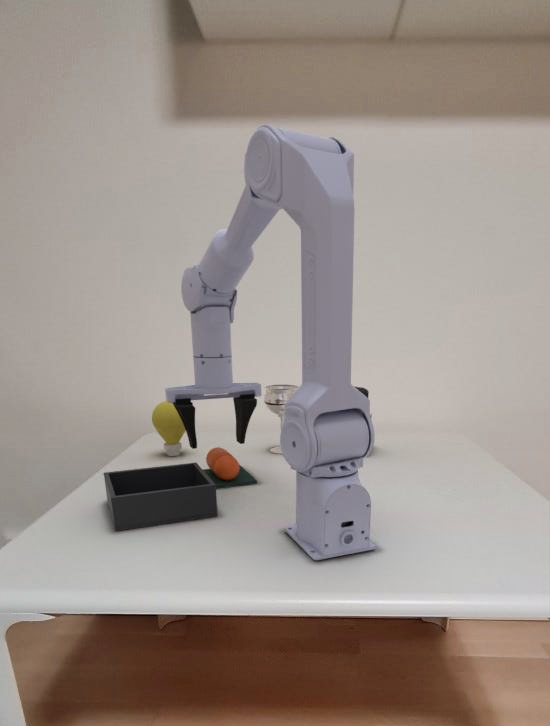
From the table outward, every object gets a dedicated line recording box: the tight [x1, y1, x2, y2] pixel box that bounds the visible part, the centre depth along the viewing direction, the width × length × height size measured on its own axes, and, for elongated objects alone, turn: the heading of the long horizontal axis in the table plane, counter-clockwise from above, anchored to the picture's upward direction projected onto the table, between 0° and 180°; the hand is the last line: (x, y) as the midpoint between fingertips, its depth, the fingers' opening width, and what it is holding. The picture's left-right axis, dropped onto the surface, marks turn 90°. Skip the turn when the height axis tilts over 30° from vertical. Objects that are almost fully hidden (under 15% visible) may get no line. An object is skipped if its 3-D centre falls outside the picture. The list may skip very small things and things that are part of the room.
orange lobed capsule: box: [205, 446, 240, 480], centre depth 88 cm, size 9×4×4 cm, turn 23°
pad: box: [202, 464, 258, 489], centre depth 88 cm, size 9×10×1 cm
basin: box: [103, 462, 218, 532], centre depth 75 cm, size 11×13×4 cm
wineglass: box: [263, 384, 300, 455], centre depth 103 cm, size 7×7×12 cm
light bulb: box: [151, 400, 186, 457], centre depth 100 cm, size 7×7×10 cm
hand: (217, 444), depth 86 cm, fingers open, 7 cm apart
